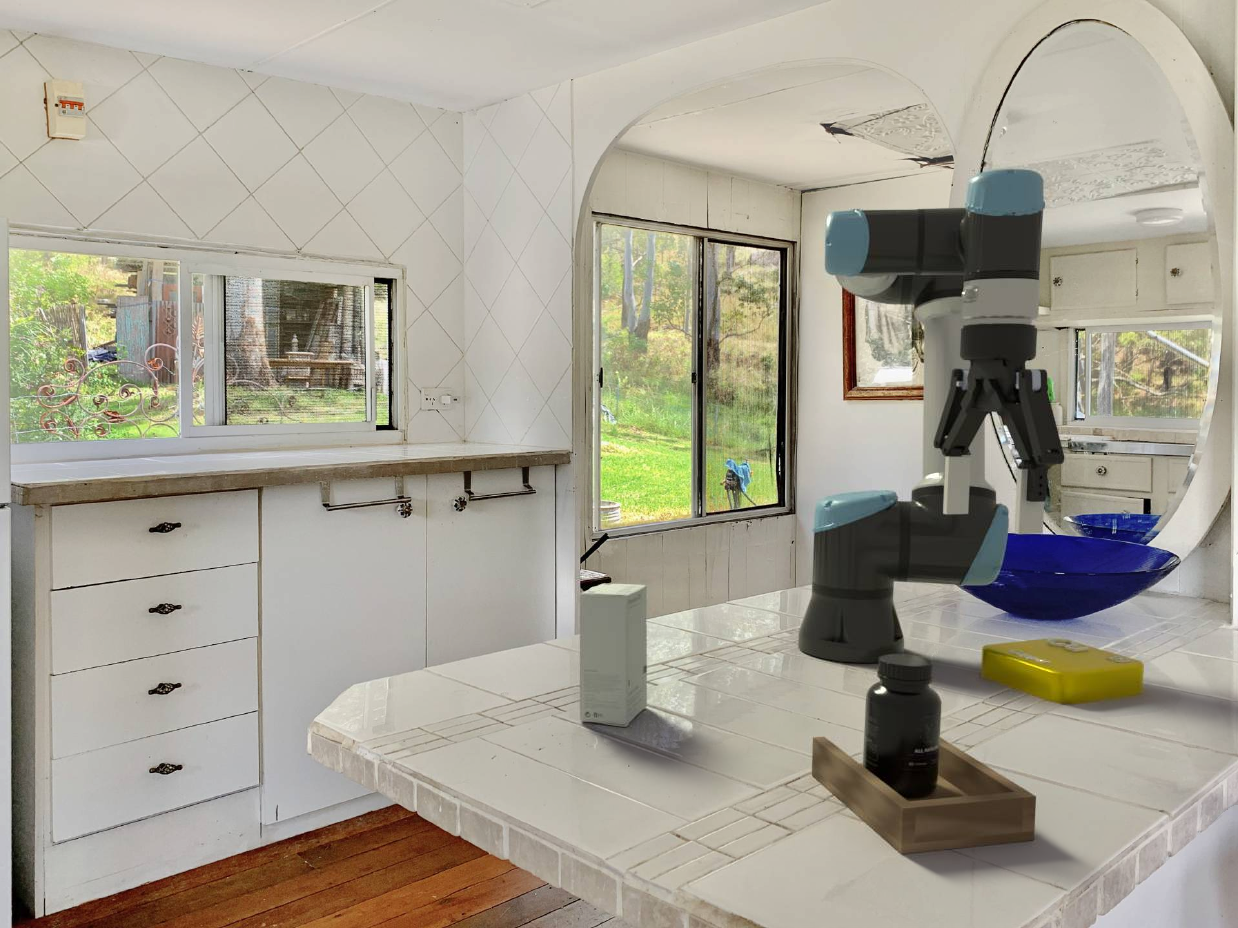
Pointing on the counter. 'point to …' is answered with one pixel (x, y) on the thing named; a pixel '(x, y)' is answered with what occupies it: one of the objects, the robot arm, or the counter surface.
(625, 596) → the skincare box
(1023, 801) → the u rest
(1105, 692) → the element tile
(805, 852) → the counter surface
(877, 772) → the supplement bottle
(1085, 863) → the counter surface
